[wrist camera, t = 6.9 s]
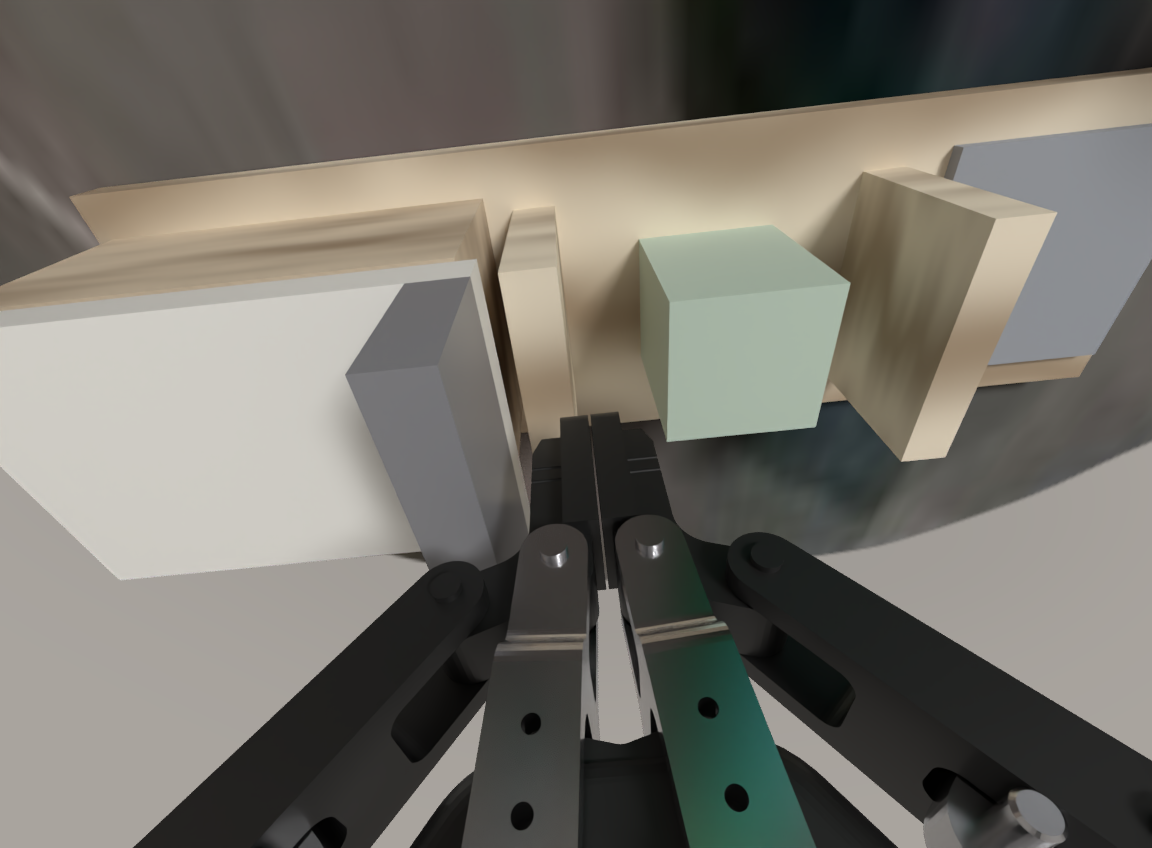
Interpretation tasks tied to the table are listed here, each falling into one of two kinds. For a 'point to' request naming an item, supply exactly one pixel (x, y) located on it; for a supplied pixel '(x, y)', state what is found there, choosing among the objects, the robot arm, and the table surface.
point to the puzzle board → (645, 210)
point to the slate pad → (1070, 231)
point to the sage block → (736, 331)
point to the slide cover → (268, 423)
